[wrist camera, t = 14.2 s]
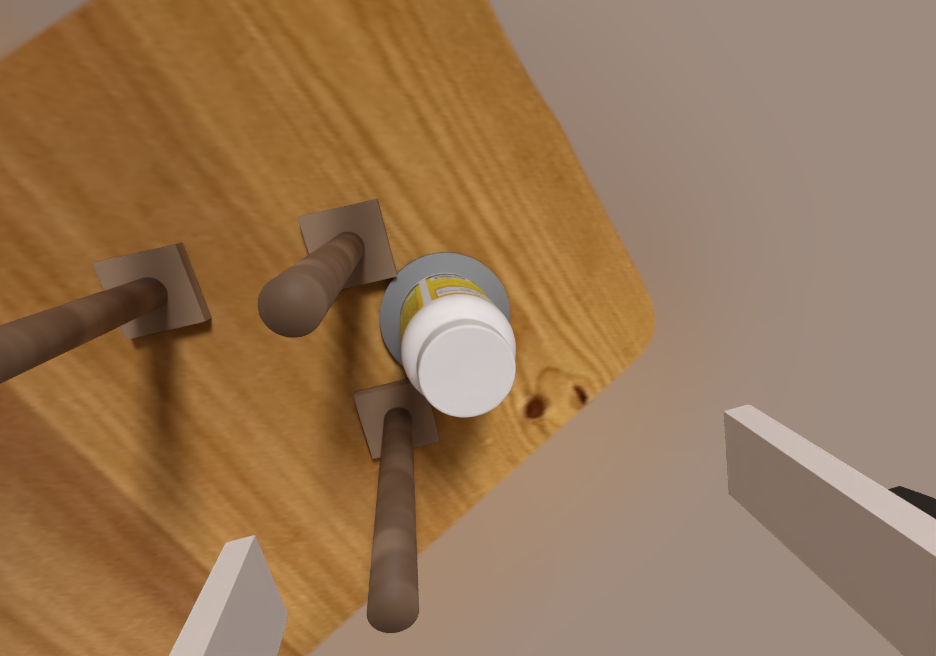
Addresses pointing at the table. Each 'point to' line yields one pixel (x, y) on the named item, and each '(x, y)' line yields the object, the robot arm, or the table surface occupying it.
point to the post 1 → (110, 309)
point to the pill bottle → (456, 345)
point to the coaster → (429, 267)
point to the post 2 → (395, 498)
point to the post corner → (327, 267)
